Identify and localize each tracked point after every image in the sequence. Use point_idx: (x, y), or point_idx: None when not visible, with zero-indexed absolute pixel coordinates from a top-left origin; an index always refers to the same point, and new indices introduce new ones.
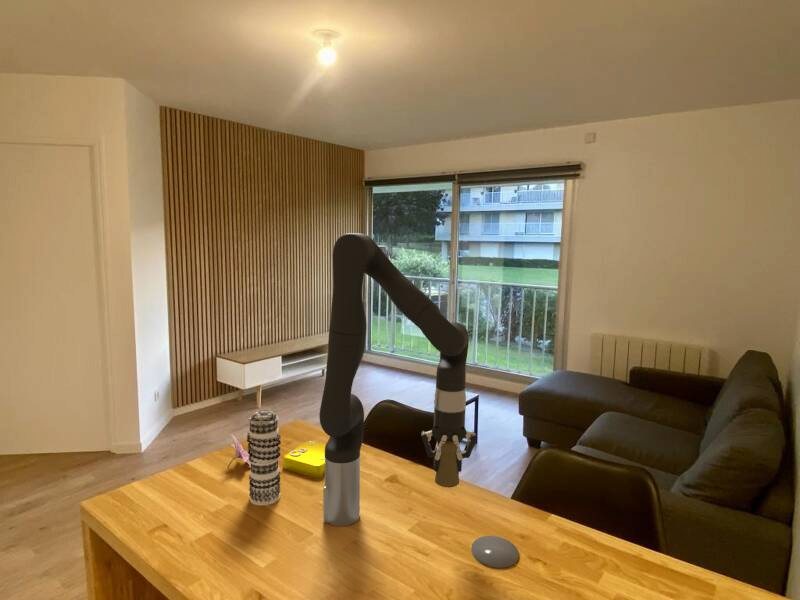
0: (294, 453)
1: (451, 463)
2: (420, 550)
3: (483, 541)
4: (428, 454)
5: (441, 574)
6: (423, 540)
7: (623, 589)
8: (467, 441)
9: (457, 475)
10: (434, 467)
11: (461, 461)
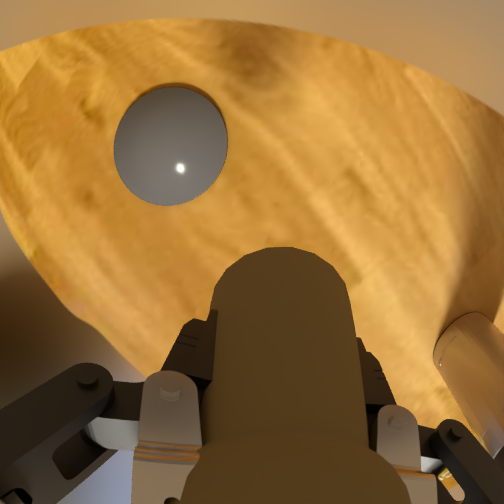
0: (449, 473)
1: (279, 352)
2: (360, 192)
3: (181, 184)
4: (465, 436)
5: (334, 93)
6: (339, 229)
7: (20, 51)
8: (55, 501)
9: (224, 297)
10: (381, 370)
11: (165, 368)
